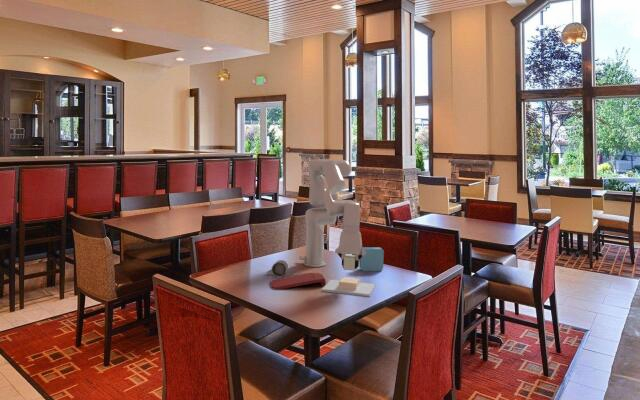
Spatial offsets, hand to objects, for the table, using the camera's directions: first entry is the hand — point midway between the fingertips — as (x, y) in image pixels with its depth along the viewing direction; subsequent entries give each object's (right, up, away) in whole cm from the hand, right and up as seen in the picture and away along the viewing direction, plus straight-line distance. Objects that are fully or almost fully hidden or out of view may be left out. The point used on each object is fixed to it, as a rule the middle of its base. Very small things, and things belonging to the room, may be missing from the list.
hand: (350, 267), depth 213 cm
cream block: (0, -1, 0) cm, 1 cm away
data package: (+14, -7, +36) cm, 39 cm away
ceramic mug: (-36, -7, +21) cm, 42 cm away
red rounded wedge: (-24, -10, +6) cm, 27 cm away
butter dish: (0, -10, +1) cm, 10 cm away
